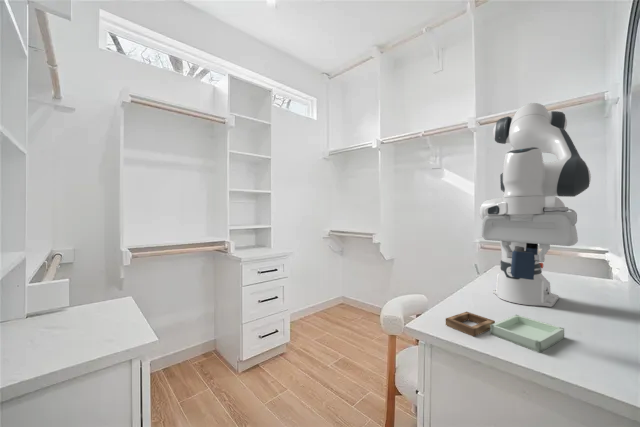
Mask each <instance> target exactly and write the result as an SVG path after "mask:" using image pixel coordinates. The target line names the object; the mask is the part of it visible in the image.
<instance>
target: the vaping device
mask: <svg viewBox="0 0 640 427" xmlns="http://www.w3.org/2000/svg"><path fill="white" fill-rule="evenodd" d="M537 250H538V251H539V244H533V243H526V251H524V247H519V246H515V250H514V251H513V252H512V263H511V274H512V276H513V277H517V278H523V279H529V280H534V268H535V260H534V259H535V257H534V255H535V254H537Z"/></svg>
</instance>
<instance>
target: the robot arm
mask: <svg viewBox="0 0 640 427" xmlns="http://www.w3.org/2000/svg"><path fill="white" fill-rule="evenodd" d="M567 125H568V120H567V117H566V114H565V113H564V112H563V111H557V110H556V111H554V110H552V111H548V109H547V107H545V106H544V105H543V104H541V103H538V102H533V103H532V102H530V103H527V104H525V105H522V106H521V107H519V108H518V109H517V111H516V112H515V113H514V115H512V116H504V117H501V118H499V119H498V120H497V121H496V122H495V124H494V126H493V129H492V136H493V139H494V141H495V142H496V143H497V144H502V145H503V144H504V145H506V144H510V145H511V148H510V149H509V151H508V152H506V153H505V155H504V160H503V167H502V173H501V174H500V176H499V177H500V191H501V192H503V193H504V194H503V195H502V197H495V198H492V199H487V200H484V201H483V202H482V203H481V205H480V207H479V210H478V211H479V212H478V214H479V216H480V219H481V220H482V223H481V237H482V238H483V240H485V241H493V242H494V241H495V242H499V243H500V251H501V260H500V263H499V267H500V270H501V271H500V272H498V273H497V275H496V276H497V277H496V289H495V290H493V292H492V293H493V294H494V295H496V297H497V298H499V299H501V300H504V301H507V302H510V303H513V304H520V305H524V306H538V307H539V306H540V307H550V308H552V307H554V305H555V304H556V303H557V301H558V300H559V298H560V297H559V295H558V294H556V293H552V291H551V283H550V281H549V280H548V279H547V278H546V277H545V276H544V275H543V274H542V273H543V271H542V269H543V268H544V263H543V262H545V260H546V259H545V255H546V254H547V253H548V252H549V250H550V249H551V246H564V247H573V246H575V245H576V244H577V243H578V241H579V238H578V232H577V228H576V226H577V225H576V224H577V222H578V214H577V212H576V211H575V210H574V209H572V208H569V207H567V206H565V203H564V202H563V201H562V200H561V199H560V197H568V198H569V197H570V198H572V197H576V196H578V195H580V194H581V193H583V192H585V191H586V190H587V189H588V188H589V187H590V184H591V181H592V180H591V178H592V176H591V175H592V174H591V171H590V168H589V167H588V165H587V163H586V161H585V160H583V158H582V157H581V156H580V153H579V152H578V149H577V148H576V146H575V143H574V142H573V140H572V138H571V137H570V135H569V133H568V132H567V130H566V129H567V127H568V126H567ZM543 153H544V154H545V153H547V154H553V155H555V157H556V159H557V160H556V161H555V160H554V161H546V162H544V156H543ZM526 243H533V244H538V250H537V254H535V255H534V257H535V259H534V260H535V268H534V280H529V279H523V278H517V277H513V276H512V274H511V263H512V252H513V251H514V250H515V246H519V247H524V251H526ZM539 249H541V250H539Z"/></svg>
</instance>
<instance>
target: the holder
mask: <svg viewBox="0 0 640 427" xmlns="http://www.w3.org/2000/svg"><path fill="white" fill-rule="evenodd" d="M467 321H470V322H472V323H475V324H474V325H469V324H467V323H463V322H467ZM495 321H496V320H493V319H491V318H487V317H485V316H481V315H478V314H475V313H472V312H469V311H464V312H461V313H457V314H455V315H451V316H449V317H445V326H446V325H447V326H446V327H449V328H452V329H453V330H457V331H459V332H461V333H464V334H467V335H469V336H470V337H471V336H472V337H476V336H478V335H481V334H485V332H488V331H490V325H492V324H494V323H496V322H495Z"/></svg>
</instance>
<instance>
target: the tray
mask: <svg viewBox="0 0 640 427" xmlns="http://www.w3.org/2000/svg"><path fill="white" fill-rule="evenodd" d="M489 331H490V335H492V336H494V337H497V338H499V339H502V340H505V341H508V342H510V343H513V344H515V345H518V346H521V347H524V348H526V349H527V350H532V351H534V352H537V353H538V354H539V353H542V352H543V351H546V350H547V349H548V348H550V347H551V346H552V347H553V346H554V345H555V344H557V343H559V342H560V341H562V340H565V327H560V326H556V325H555V324H554V325H553V324H549V323H545V322H543V321H540V320H536V319H532V318H529V317H525V316H522V315H519V314H515V315H512V316H510V317H509V316H508V317H507V318H504V319H502V320H499V321H497V322H495V323H494V324H492V325H490V330H489Z"/></svg>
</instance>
